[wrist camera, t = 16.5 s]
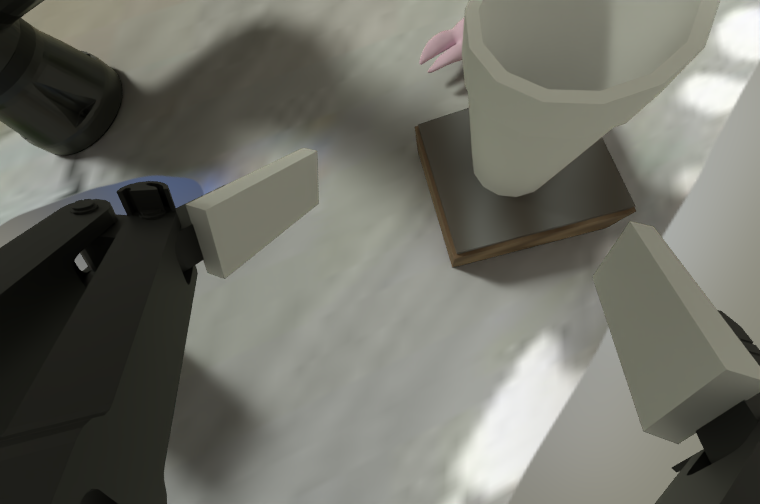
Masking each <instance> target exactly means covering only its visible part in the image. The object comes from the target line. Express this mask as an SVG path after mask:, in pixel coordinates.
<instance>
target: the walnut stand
mask: <svg viewBox="0 0 760 504" xmlns="http://www.w3.org/2000/svg"><path fill="white" fill-rule="evenodd" d="M415 133H416V140H417V147H418V153H419V156H420V160H421V163H422V167H423V170H424V173H425V177H426V180H427V183H428V187H429V190H430V194H431V197H432V200H433V204H434V207H435V210H436V214H437V217H438V220H439V224H440V227H441V231H442V234H443V237H444V241H445V244H446V247H447V251H448V254H449V258H450V261H451V264H452V268H453V267H457V266H460V265H464V264H468V263H472V262H476V261H480V260H484V259H488V258H491V257H495V256H499V255H503V254H507V253H511V252H515V251H519V250H522V249H526V248H530V247H534V246H538V245H542V244H546V243H549V242H553V241H557V240H561V239H565V238H569V237H573V236H577V235H580V234H584V233H588V232H592V231H596V230H600V229H604V228H607V227H609V226H610V225H612V224H614V223H616V222H618V221H619V220H621V219H623V218H625V217H627V216H628V215H630V214H632V213H634V212H636V210H635V207H634V206H635V204H634V202H633V200H632V198H631V196H630V194H629V192H628V190H627V188H626V186H625V184H624V182H623V180H622V178H621V176H620V173H619V171H618V169H617V167H616V165H615V163H614V161H613V159H612V157H611V155H610V153H609V151H608V149H607V147H606V145H605V143H604V140H603V138H602V137H601V138H600V139H599V140H598V141H596V142H595V143H594V144H593V145H592V146H590V147H589V148H588V149H587V150H585V151H584V152H583V153H582V154H580V155H579V156H578V157H577V158H576V159H574V160H573V161H572V162H571V163H569V164H568V165H567V166H566V167H565V168H563V169H562V170H561V171H560V172H558V173H557V174H556V175H555V176H553V177H552V178H551V179H550V180H549V181H547V182H546V183H545V184H544V185H542V186H541V187H540V188H539V189H537V190H536V191H535V192H532V193H528V194H525V195H522V196H518V197H511V196H502V195H497V194H495V193H494V192H492V191H490V190H488V189H486V188H485V187H483V186H482V184H481V183H480V181H479V180H478V178H477V177H476V176H475V174H474V169H473V159H472V147H471V131H470V116H469V108H467V109H464V110H461V111H458V112H455V113H452V114H449V115H446V116H443V117H440V118H437V119H434V120H431V121H428V122H425V123H421V124H418V126H416V127H415Z"/></svg>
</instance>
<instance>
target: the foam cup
mask: <svg viewBox="0 0 760 504" xmlns="http://www.w3.org/2000/svg"><path fill="white" fill-rule="evenodd" d="M719 3H720V0H469V2H468V4H467V6H466V8H465V16H464V29H463V42H462V61H463V71H464V80H465V88H466V89H467V90H468V100H469V116H470V131H471V147H472V159H473V169H474V174H475V176H476V177H477V178H478V180H479V181H480V183H481V184H482V186H483V187H485V188H486V189H488V190H490V191H492V192H494V193H495V194H497V195H502V196H511V197H518V196H522V195H525V194H528V193H532V192H535V191H536V190H537V189H539V188H540V187H541V186H542V185H544V184H545V183H546V182H547V181H549V180H550V179H551V178H552V177H553V176H555V175H556V174H557V173H558V172H560V171H561V170H562V169H563V168H565V167H566V166H567V165H568V164H569V163H571V162H572V161H573V160H574V159H576V158H577V157H578V156H579V155H580V154H582V153H583V152H584V151H585V150H587V149H588V148H589V147H590V146H592V145H593V144H594V143H595V142H596V141H598V140H599V139H600V138H601V137H603V136H604V135H605V134H606V133H608V132H609V131H610V130H611V129H612V128H614V127H616V126H619V125H622V124H625V123H627V122H628V121H629V120H630V119H631V118H632V117H633V116H635V115H636V114H637V113H638V112H639V111H640V110H641V109H643V108H644V107H645V106H646V105H647V104H648V103H649V102H651V101H652V100H653V99H654V98H655V97H656V96H657V95H658V94H660V93H661V92H662V91H663V90H664V89H665V88H666V87H667V86H668V85H669V84H670V83H671V82H672V80H673V79H674V78H675V77H676V76H677V75H678V74H679V73H680V72H681V71H682V70H683V69H684V68H685V67H686V66H687V65H688V64H689V63H690V62H691V61H692V60H693V59H694V58H695V57H696V56H697V55H698V54H699V53H700V52H701V51H702V50H703V48H704V47H705V45H706V42H707V39H708V36H709V33H710V30H711V27H712V24H713V21H714V18H715V15H716V12H717V9H718V6H719Z"/></svg>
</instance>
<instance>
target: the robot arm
mask: <svg viewBox="0 0 760 504" xmlns="http://www.w3.org/2000/svg"><path fill="white" fill-rule="evenodd" d="M43 1H44V0H0V121H1V122H3V123H4V124H6V125H7V126H9V127H10V128H12V129H13V130H15V131H16V132H18V133H19V134H20V135H21V136H22V137H23V138H24V139H25V140H27V141H28V142H29V143H31V144H33V145H34V146H37V147H39V148H41V149H44V150H46V151H48V152H51V153H53V154H57V155H69V154H73V153H76V152H79V151H81V150H83V149H85V148H87V147H88V146H90V145H91V144H93V143H94V142H95V141H96V140H97V139H99V138H100V137H101V136H102V135H103V133H104V132H105V131H106V130H107V129H108V127H109V126H110V125H111V123H112V121H113V120H114V118H115V116H116V114H117V112H118V109H119V106H120V102H121V97H122V85H121V81H120V78H119V76H118V74H117V73H116V72H115V71H114V70H113V69H112V68H111V67H109V66H108V65H107V64H105V63H104V62H103V61H101V60H100V59H99V58H97V57H95V56H94V55H92V54H89V53H87V52H84V51H79V50H77V49H75V48H73V47H72V46H70V45H68V44H66V43H64V42H62V41H60V40H58V39H56V38H54V37H52V36H50V35H47V34H45V33H43V32H41V31H39V30H37V29H36V28H34V27H33V26H31V25H30V24H29V23H27V22H26V21H24V20H23V19H22V18H21V17H22V16H23V15H24V14H26V13H27V12H29V11H30V10H31V9H33V8H34V7H36V6H37V5H38V4H40V3H41V2H43ZM117 194H118V196H119V198H120V200H121V202H122V205H123V207H124V209H125V211H126V213H127V215H116V214H115V212H114V210H113V208H112V206H111V204H110V202H108V201H106V200H99V199H94V200H91V199H85V200H79V201H76V202H75V203H72V204H68V205H66V206H64V207H62V208H60V209H59V210H57V211H56V212H54V213H53V214H52V215H50V216H48V217H47V218H45V219H44V220H42V221H41V222H39V223H38V224H36V225H34V226H33V227H32V228H30V229H28V230H27V231H25V232H24V233H23V234H21V235H19V236H18V237H16V238H15V239H13V240H12V241H10V242H9V243H7V244H5V245H4V246H2V247H1V248H0V504H167V494H166V488H165V482H164V466H165V460H166V454H167V448H168V442H169V437H170V431H171V425H172V419H173V413H174V408H175V402H176V396H177V390H178V384H179V379H180V373H181V367H182V361H183V355H184V349H185V344H186V338H187V332H188V326H189V320H190V315H191V309H192V303H193V297H194V291H195V286H196V280H197V274H198V273H197V269H196V266H195V265H196V264H197V263H199V262H200V261H202V260H204V263H205V266H206V270H207V273H210V274H213V275H215V276H218V277H221V278H224V279H225V278H227V277H228V276H229V275H230V274H232V273H233V272H234V271H235V270H237V269H238V268H239V267H240V266H242V265H243V264H244V263H245V262H246V261H248V260H249V259H250V258H251V257H253V256H254V255H255V254H256V253H258V252H259V251H260V250H261V249H263V248H264V247H265V246H266V245H268V244H269V243H270V242H271V241H273V240H274V239H275V238H276V237H278V236H279V235H280V234H281V233H283V232H284V231H285V230H286V229H288V228H289V227H290V226H291V225H293V224H294V223H295V222H296V221H298V220H299V219H300V218H301V217H303V216H304V215H305V214H306V213H308V212H309V211H310V210H311V209H313V208H314V207H315V206H316V205H318V204H319V190H318V158H317V151H315V150H310V149H306V148H302V149H300V150H298V151H295V152H293V153H291V154H289V155H287V156H285V157H283V158H281V159H279V160H277V161H275V162H273V163H271V164H268V165H266V166H264V167H262V168H260V169H258V170H256V171H254V172H252V173H250V174H248V175H246V176H243V177H241V178H239V179H237V180H235V181H233V182H231V183H229V184H227V185H224V186H222V187H219V188H217V189H215V190H214V191H211V192H209V193H207V194H205V195H204V196H201V197H199V198H197V199H194V200H192V201H190V202H188V203H186V204H184V205H182V206H180V207H178V208H175V205H174V202H173V199H172V196H171V193H170V190H169V188H168V185H166V184H165V183H161V182H154V181H146V182H138V183H134V184H130V185H127V186H124V187H122V188H120V189H119V190H118V191H117ZM79 253H80V254H81V255H82V257H83V259H84V260H85V262H86V263H87V265H88V267H87V268H86V269H85V270H83V271H81V270H80V269H79V268H78V266H77V265H76V263H75V262H74V260H75V258H76V257H77V255H78V254H79ZM592 278H593V281H594V284H595V287H596V290H597V293H598V296H599V299H600V302H601V305H602V308H603V311H604V314H605V317H606V320H607V323H608V326H609V329H610V332H611V335H612V338H613V341H614V344H615V347H616V350H617V353H618V356H619V359H620V362H621V365H622V368H623V371H624V374H625V377H626V380H627V383H628V386H629V389H630V392H631V396H632V398H633V401H634V405H635V408H636V411H637V413H638V417H639V420H640V423H641V425H642V429H643V431H644V432H647V433H649V434H652V435H655V436H658V437H660V438H663V439H666V440H669V441H671V442H674V443H677V444H679V443H681V442H682V441H684V440H685V439H687V438H688V437H690V436H692V435H693V434H695V433H697V435H698V437H699V439H700V442H701V444H702V446H703V448H704V449H703V450H701V451H700V452H698V453H696V454H695V455H693V456H691V457H689V458H688V459H686V460H684V461H682V462H681V463H679V464H677V465H676V466H674V467H672V469H673V470H675V471H676V472H679V471H680V473H679V474H678V475H677V476H676V477H675V479H674V480H673V481H672V482H671V484H670V485H669V486H668V488H667V489H666V490H665V491H664V493H663V494H662V495H661V496H660V498H659V499H658V500H657V501H656V503H655V504H760V350H759V349H758V348H757V346H756V345H753V344H752V343H753V341H752V340H751V339H750V338H749V336H748V335H747V334H746V333H745V331H744V330H743V329H742V328H741V327H740V326H739V325H738V324H737V323H736V322H734V321H733V320H732V319H731V318H729V317H728V316H727V315H726V314H724V313H723V312H722V311H719V310H717V309H716V308H715V307H714V305H713V304H712V303H711V302H710V300H709V299H708V298H707V296H706V295H705V294H704V293H703V291H702V290H701V288H700V287H699V286H698V284H697V283H696V282H695V281H694V279H693V278H692V277H691V275H690V274H689V273H688V271H687V270H686V269H685V267H684V266H683V265H682V263H681V262H680V261H679V259H678V258H677V257H676V256H675V255H674V253H673V252H672V250H671V249H670V248H669V246H668V245H667V244H666V242H665V241H664V240H663V238H662V237H661V236H660V234H659V233H658V232H657V231H656V229H655V228H654V227H653V226H649V225H644V224H640V223H636V222H631V221H630V222H629V223H628V225H627V226H626V228H625V229H624V231H623V232H622V234H621V235H620V237H619V238H618V240H617V241H616V243H615V244H614V246H613V247H612V249H611V250H610V252H609V253H608V255H607V256H606V258H605V259H604V261H603V262H602V264H601V265H600V267H599V268H598V269H597V271H596V272H595V274H594V275H593V277H592Z"/></svg>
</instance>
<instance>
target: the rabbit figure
mask: <svg viewBox="0 0 760 504" xmlns="http://www.w3.org/2000/svg"><path fill="white" fill-rule="evenodd" d="M463 29H464V18H463V19H462V20H460V21H459V22H458V23H457V24H456V25H455V26H454V28H452V29H451V30H446V31H442V32H440V33H438V34H436V35H435V36H433V37H432V38H431V39H430V40H429V41H428V42H427V44H426V46H425V47H424V50H423V52H422V55H421V58H420V64H421V65H422V64H423V63H425V62H426V61H428V60H430V59H431V58H433V57H435V56H436V55H438V54H440V53H442V52H444V51H445V50H447V49H448V50H447V51H446V52H444V53H443V54H441V55H440V56H439V57H438V58H437V60H436V61H435V62H434V63H433V65H432V66H431V67H430V68H429V70H428V73H431V72H434V71H436V70H438V69H440V68H442V67H444V66H446V65H449V64H451V63H454V62H456V61H460V60H462V42H463Z"/></svg>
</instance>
